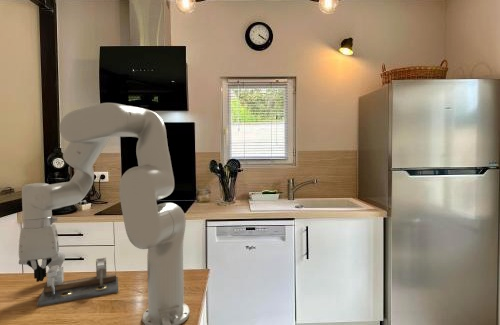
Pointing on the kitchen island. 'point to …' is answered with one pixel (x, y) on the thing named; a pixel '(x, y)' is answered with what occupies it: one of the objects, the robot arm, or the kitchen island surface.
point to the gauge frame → (99, 278)
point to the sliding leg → (55, 277)
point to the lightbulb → (59, 261)
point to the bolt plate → (77, 293)
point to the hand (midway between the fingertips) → (40, 279)
